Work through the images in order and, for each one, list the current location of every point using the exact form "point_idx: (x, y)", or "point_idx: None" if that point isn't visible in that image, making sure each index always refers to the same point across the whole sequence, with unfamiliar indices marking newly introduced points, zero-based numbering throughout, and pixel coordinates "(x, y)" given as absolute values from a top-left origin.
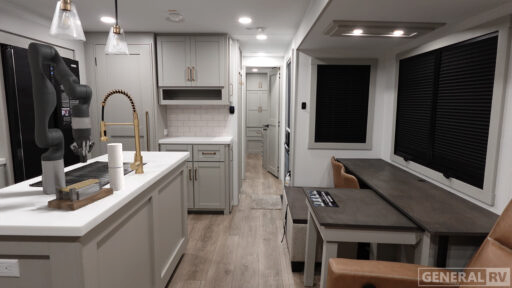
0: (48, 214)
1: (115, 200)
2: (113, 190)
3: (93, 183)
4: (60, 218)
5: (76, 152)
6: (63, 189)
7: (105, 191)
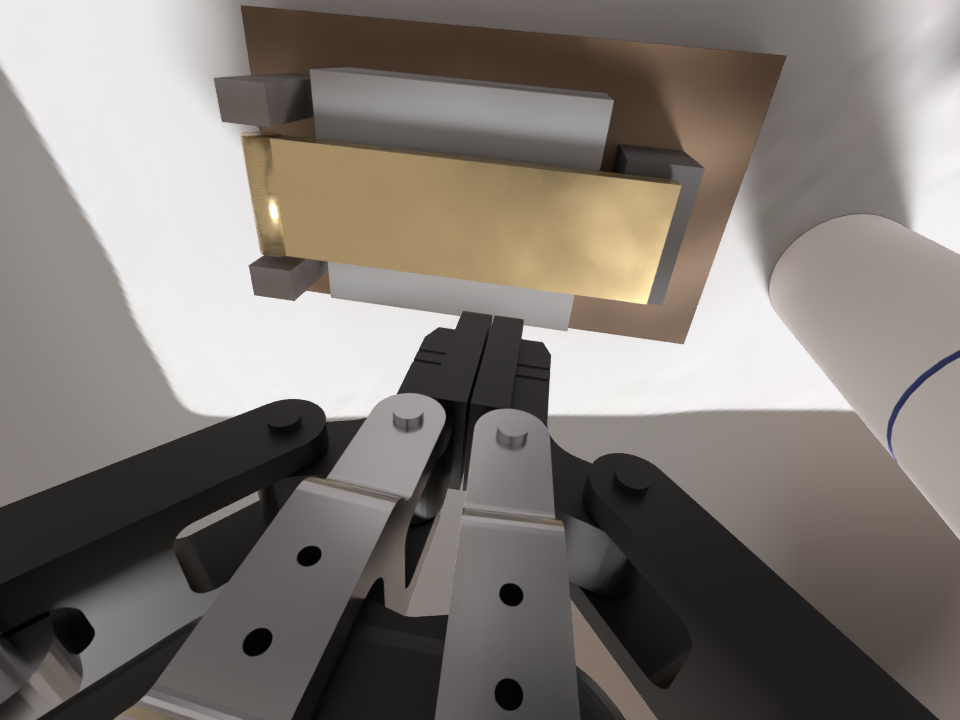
0: (195, 144)
1: None
2: (772, 279)
3: None
4: (193, 272)
5: (243, 460)
6: (249, 187)
7: (590, 330)
